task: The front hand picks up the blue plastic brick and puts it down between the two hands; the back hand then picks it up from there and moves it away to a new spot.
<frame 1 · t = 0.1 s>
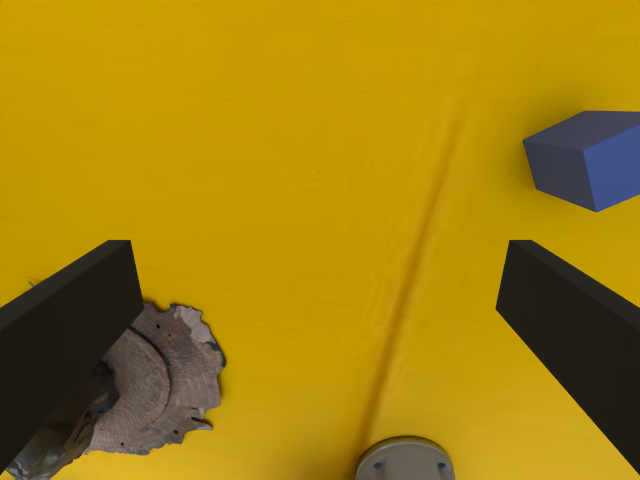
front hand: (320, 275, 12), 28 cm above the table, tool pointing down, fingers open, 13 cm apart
brick: (560, 151, 38), on the table
sculpture: (103, 374, 49), on the table
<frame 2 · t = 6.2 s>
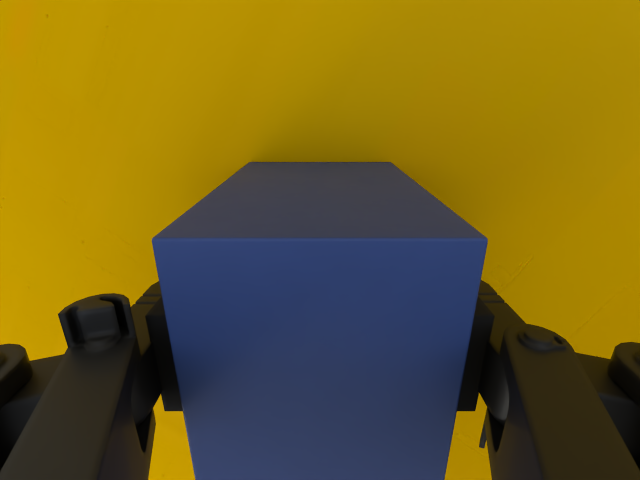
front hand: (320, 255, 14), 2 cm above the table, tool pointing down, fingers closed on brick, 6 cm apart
brick: (319, 236, 16), on the table, touching front hand
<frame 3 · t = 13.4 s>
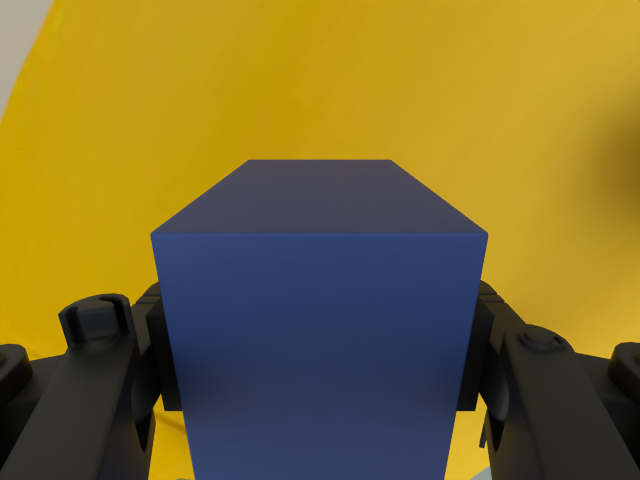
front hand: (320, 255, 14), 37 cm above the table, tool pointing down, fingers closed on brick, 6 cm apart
brick: (319, 234, 16), point 35 cm above the table, touching front hand
when the front hand's fingers open (3 cm above the table, at t = 20.6 s): brick drops 1 cm, on the table.
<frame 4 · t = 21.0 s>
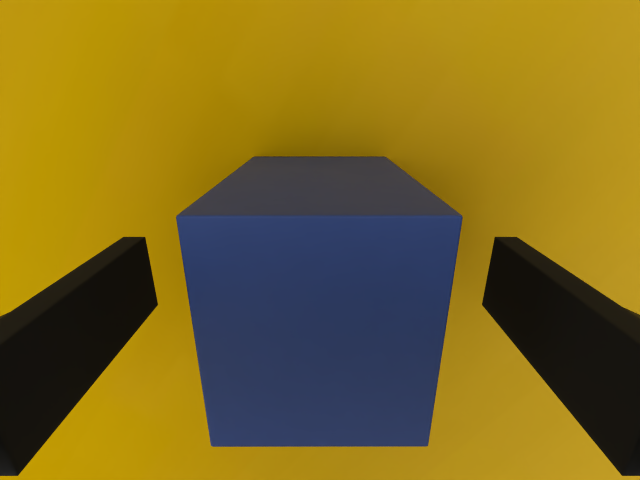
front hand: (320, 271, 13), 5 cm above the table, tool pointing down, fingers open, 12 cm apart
brick: (319, 226, 17), on the table
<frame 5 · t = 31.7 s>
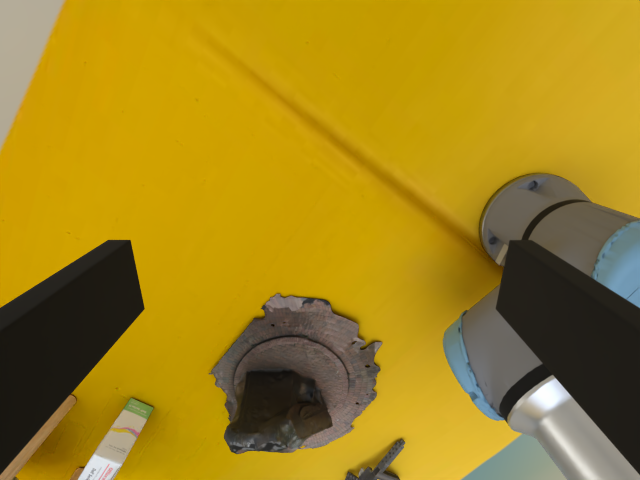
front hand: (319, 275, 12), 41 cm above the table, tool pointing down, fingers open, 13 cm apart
toy gun: (380, 468, 74), on the table
ink box: (134, 414, 68), on the table
planter: (26, 431, 70), on the table
sculpture: (295, 378, 65), on the table
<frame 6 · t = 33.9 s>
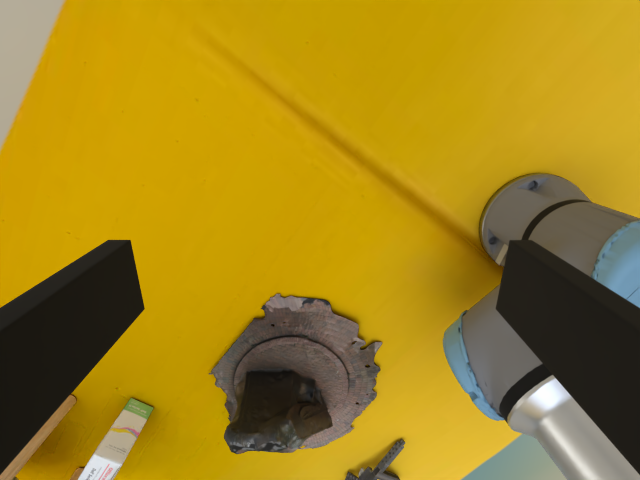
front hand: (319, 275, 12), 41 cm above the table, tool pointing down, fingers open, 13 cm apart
toy gun: (380, 468, 74), on the table
ink box: (134, 414, 68), on the table
planter: (26, 431, 70), on the table
sculpture: (295, 378, 65), on the table
when the back hand's fingers open (3 cm above the table, at t = 35.9 s): brick drops 1 cm, on the table.
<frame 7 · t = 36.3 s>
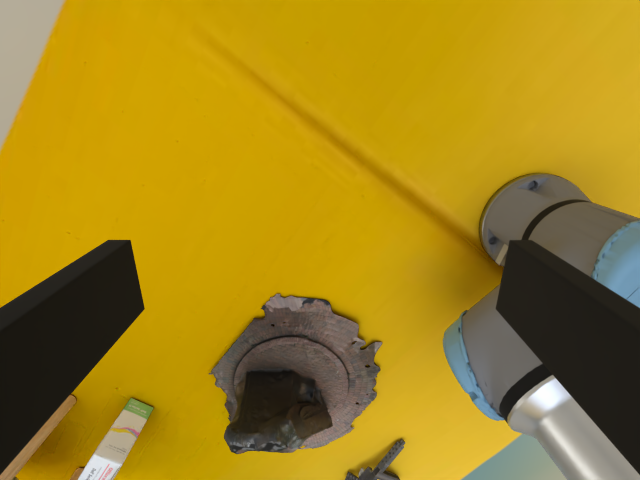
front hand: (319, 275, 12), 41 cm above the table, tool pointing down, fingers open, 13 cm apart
toy gun: (380, 468, 74), on the table
ink box: (134, 414, 68), on the table
planter: (26, 431, 70), on the table
sculpture: (295, 378, 65), on the table
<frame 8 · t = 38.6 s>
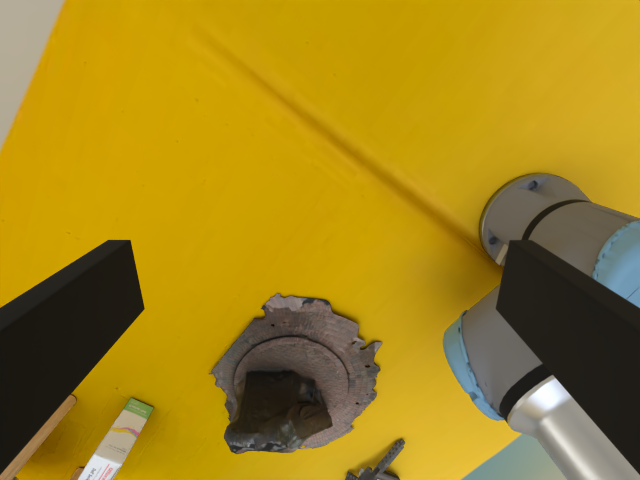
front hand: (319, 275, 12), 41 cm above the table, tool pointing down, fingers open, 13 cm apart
toy gun: (380, 468, 74), on the table
ink box: (134, 414, 68), on the table
planter: (26, 431, 70), on the table
sculpture: (295, 378, 65), on the table
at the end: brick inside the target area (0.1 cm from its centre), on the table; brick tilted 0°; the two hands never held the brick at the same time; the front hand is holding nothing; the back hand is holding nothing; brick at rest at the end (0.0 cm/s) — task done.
